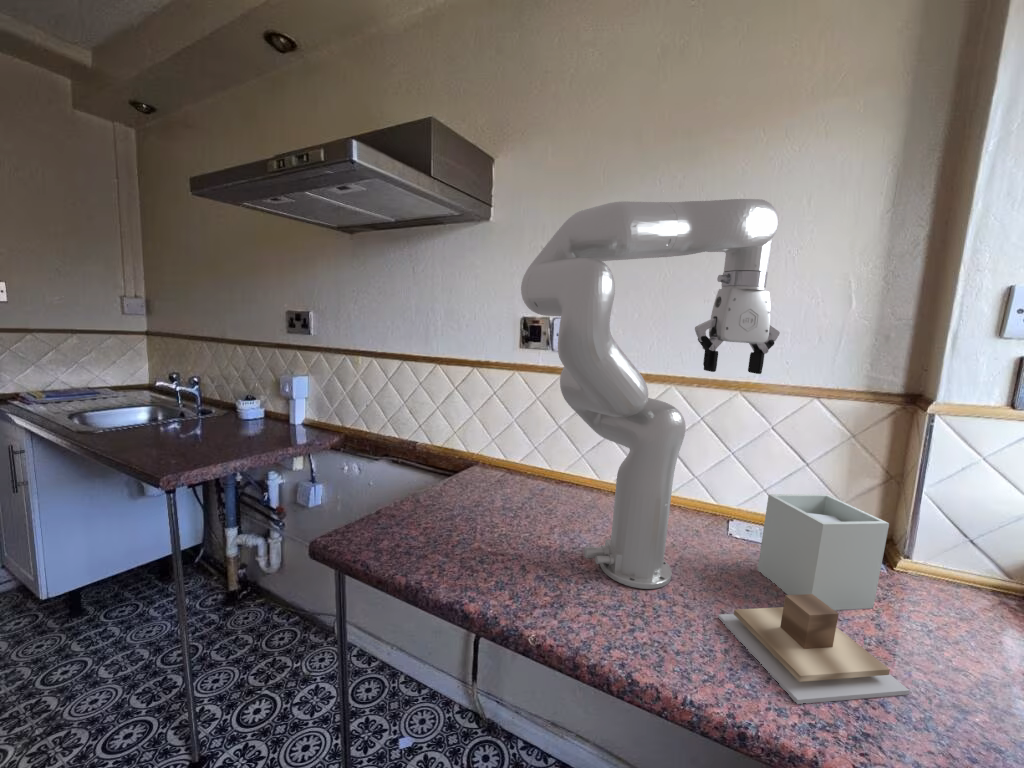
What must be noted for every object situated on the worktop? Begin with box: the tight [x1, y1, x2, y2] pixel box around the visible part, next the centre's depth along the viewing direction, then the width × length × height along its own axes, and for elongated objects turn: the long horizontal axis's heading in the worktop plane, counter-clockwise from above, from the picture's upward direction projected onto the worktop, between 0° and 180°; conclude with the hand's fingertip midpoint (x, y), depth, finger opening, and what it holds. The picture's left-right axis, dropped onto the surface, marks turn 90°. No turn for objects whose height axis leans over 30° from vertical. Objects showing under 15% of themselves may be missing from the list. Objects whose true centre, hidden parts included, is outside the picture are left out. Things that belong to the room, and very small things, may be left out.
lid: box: [733, 594, 891, 682], centre depth 64 cm, size 13×13×7 cm
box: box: [757, 493, 890, 611], centre depth 80 cm, size 12×12×15 cm
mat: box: [717, 613, 910, 705], centre depth 64 cm, size 16×16×1 cm
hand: (732, 372), depth 89 cm, fingers open, 9 cm apart
